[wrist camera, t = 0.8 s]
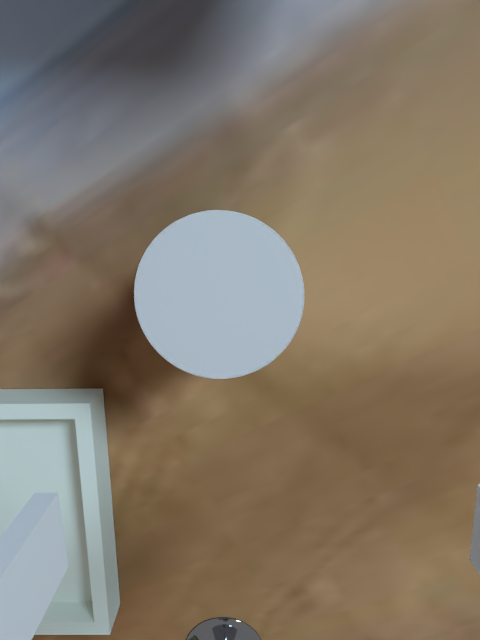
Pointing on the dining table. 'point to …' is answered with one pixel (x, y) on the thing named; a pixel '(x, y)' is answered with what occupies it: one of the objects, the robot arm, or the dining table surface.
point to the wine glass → (223, 630)
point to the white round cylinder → (219, 294)
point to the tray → (65, 496)
